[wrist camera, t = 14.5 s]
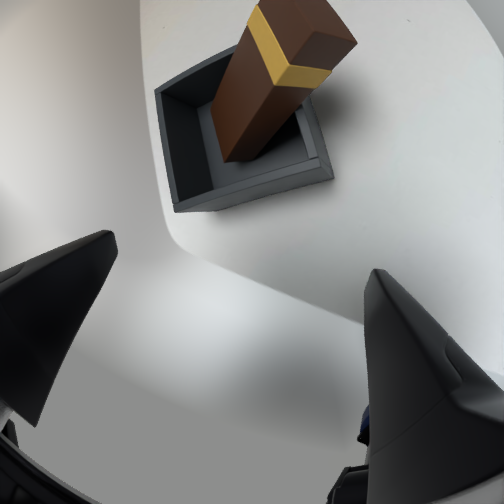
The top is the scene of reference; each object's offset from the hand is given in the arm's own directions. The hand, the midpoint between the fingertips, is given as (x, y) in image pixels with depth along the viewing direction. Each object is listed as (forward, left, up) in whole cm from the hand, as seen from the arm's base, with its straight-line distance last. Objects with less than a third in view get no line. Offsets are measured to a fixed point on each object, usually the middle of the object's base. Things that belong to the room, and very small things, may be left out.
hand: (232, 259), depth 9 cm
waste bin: (+5, +7, -13) cm, 16 cm away
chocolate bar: (+5, +8, -11) cm, 15 cm away
